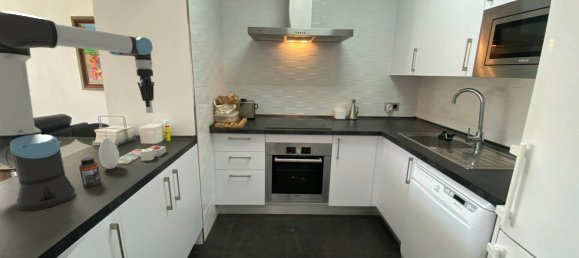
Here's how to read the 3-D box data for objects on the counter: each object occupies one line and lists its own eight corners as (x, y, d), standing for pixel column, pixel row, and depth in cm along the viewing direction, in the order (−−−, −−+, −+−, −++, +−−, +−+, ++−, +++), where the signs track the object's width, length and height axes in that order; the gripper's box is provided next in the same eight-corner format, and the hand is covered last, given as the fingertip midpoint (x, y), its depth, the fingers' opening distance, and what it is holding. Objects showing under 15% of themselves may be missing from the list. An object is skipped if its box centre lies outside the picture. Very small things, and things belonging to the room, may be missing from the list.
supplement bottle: (86, 182, 104) (81, 157, 101) (103, 180, 106) (98, 155, 103) (80, 188, 98) (75, 161, 96) (98, 186, 100) (93, 159, 98)
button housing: (159, 156, 136) (158, 150, 136) (144, 156, 136) (143, 150, 135) (165, 152, 144) (165, 146, 144) (152, 152, 144) (151, 146, 143)
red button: (157, 153, 138) (156, 147, 137) (148, 153, 137) (148, 148, 137) (161, 150, 142) (160, 145, 142) (153, 150, 142) (152, 145, 142)
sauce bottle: (103, 166, 121) (97, 131, 117) (122, 164, 124) (116, 129, 121) (99, 172, 114) (92, 135, 110) (119, 169, 117) (113, 133, 114)
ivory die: (151, 160, 131) (150, 150, 129) (141, 160, 130) (140, 151, 128) (154, 157, 135) (153, 148, 134) (144, 157, 134) (143, 148, 133)
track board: (127, 164, 124) (126, 162, 124) (108, 164, 124) (108, 162, 124) (151, 150, 148) (151, 148, 148) (136, 150, 147) (135, 148, 147)
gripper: (145, 68, 124) (150, 114, 129) (157, 69, 136) (162, 111, 141) (130, 68, 123) (136, 114, 128) (143, 69, 136) (148, 111, 141)
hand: (149, 112), depth 135 cm, fingers closed
